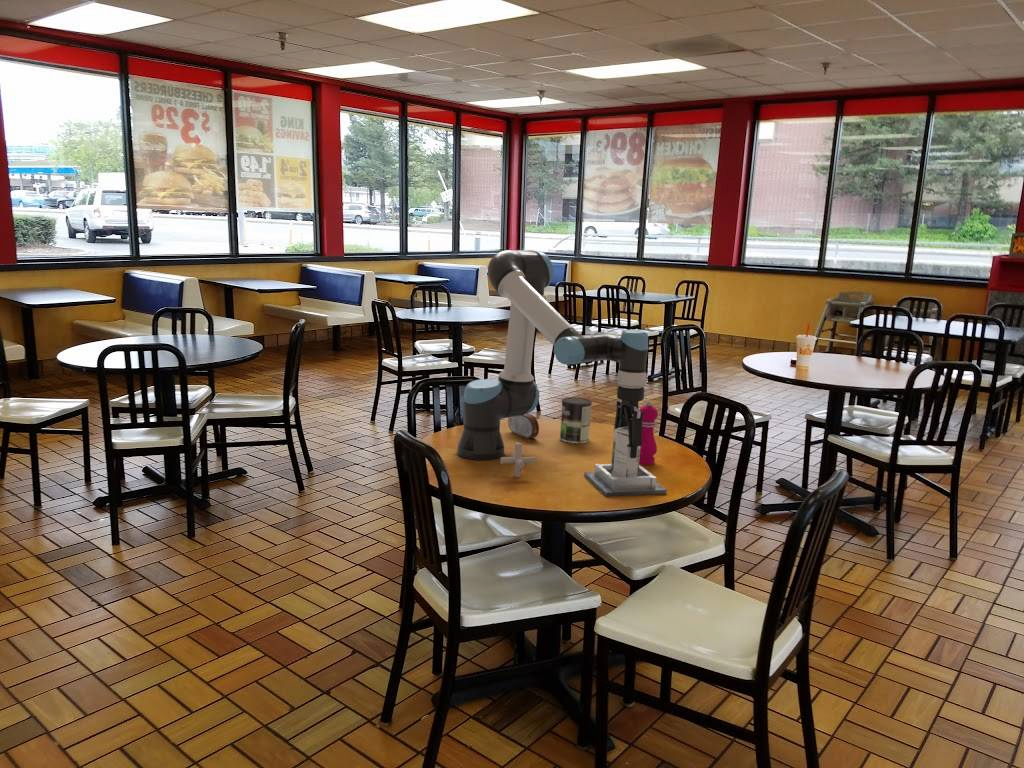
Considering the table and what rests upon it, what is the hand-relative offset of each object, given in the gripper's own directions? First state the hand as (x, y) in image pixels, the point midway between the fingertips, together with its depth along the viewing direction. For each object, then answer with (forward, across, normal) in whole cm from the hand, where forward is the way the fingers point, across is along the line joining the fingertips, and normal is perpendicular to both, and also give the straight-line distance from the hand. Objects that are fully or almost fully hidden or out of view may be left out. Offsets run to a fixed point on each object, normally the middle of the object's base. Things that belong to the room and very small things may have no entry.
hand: (625, 463), depth 216 cm
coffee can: (+7, +48, -1) cm, 48 cm away
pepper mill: (+7, +20, -15) cm, 26 cm away
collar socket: (+6, 0, 0) cm, 6 cm away
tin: (+7, +55, +16) cm, 58 cm away
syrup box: (+4, 0, 0) cm, 4 cm away
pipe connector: (+7, +11, +29) cm, 32 cm away
